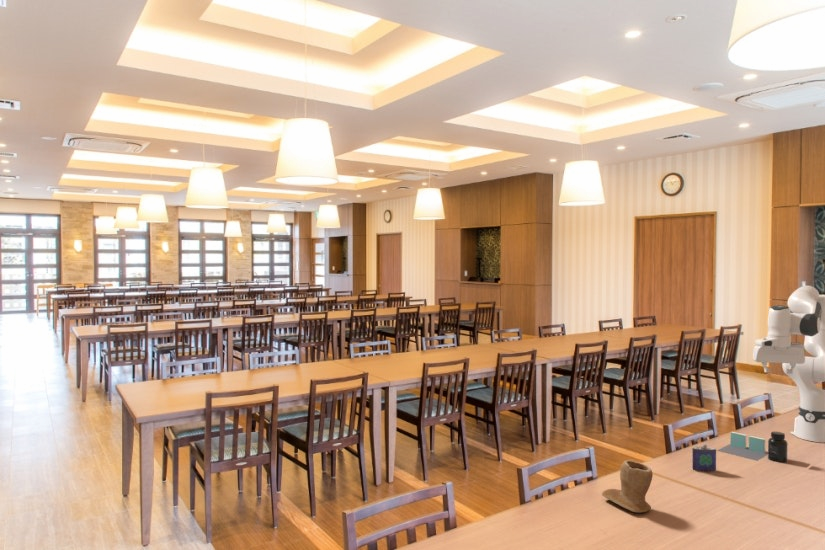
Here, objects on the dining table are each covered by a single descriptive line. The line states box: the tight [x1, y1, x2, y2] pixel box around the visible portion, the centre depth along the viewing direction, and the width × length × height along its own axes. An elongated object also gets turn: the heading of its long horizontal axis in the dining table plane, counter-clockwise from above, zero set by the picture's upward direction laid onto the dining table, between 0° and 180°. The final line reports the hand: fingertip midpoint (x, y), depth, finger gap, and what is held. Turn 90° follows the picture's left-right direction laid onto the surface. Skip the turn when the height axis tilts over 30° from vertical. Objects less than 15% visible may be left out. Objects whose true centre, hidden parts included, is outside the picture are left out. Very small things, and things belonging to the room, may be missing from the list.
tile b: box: [730, 431, 747, 449], centre depth 248 cm, size 2×6×6 cm, turn 39°
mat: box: [716, 443, 768, 461], centre depth 242 cm, size 16×16×1 cm
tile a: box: [748, 435, 766, 453], centre depth 242 cm, size 2×6×6 cm, turn 39°
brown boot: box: [601, 460, 654, 514], centre depth 188 cm, size 15×12×15 cm
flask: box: [691, 443, 717, 472], centre depth 221 cm, size 9×3×11 cm, turn 88°
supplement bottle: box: [767, 431, 789, 464], centre depth 231 cm, size 7×7×12 cm
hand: (778, 372), depth 244 cm, fingers open, 8 cm apart
